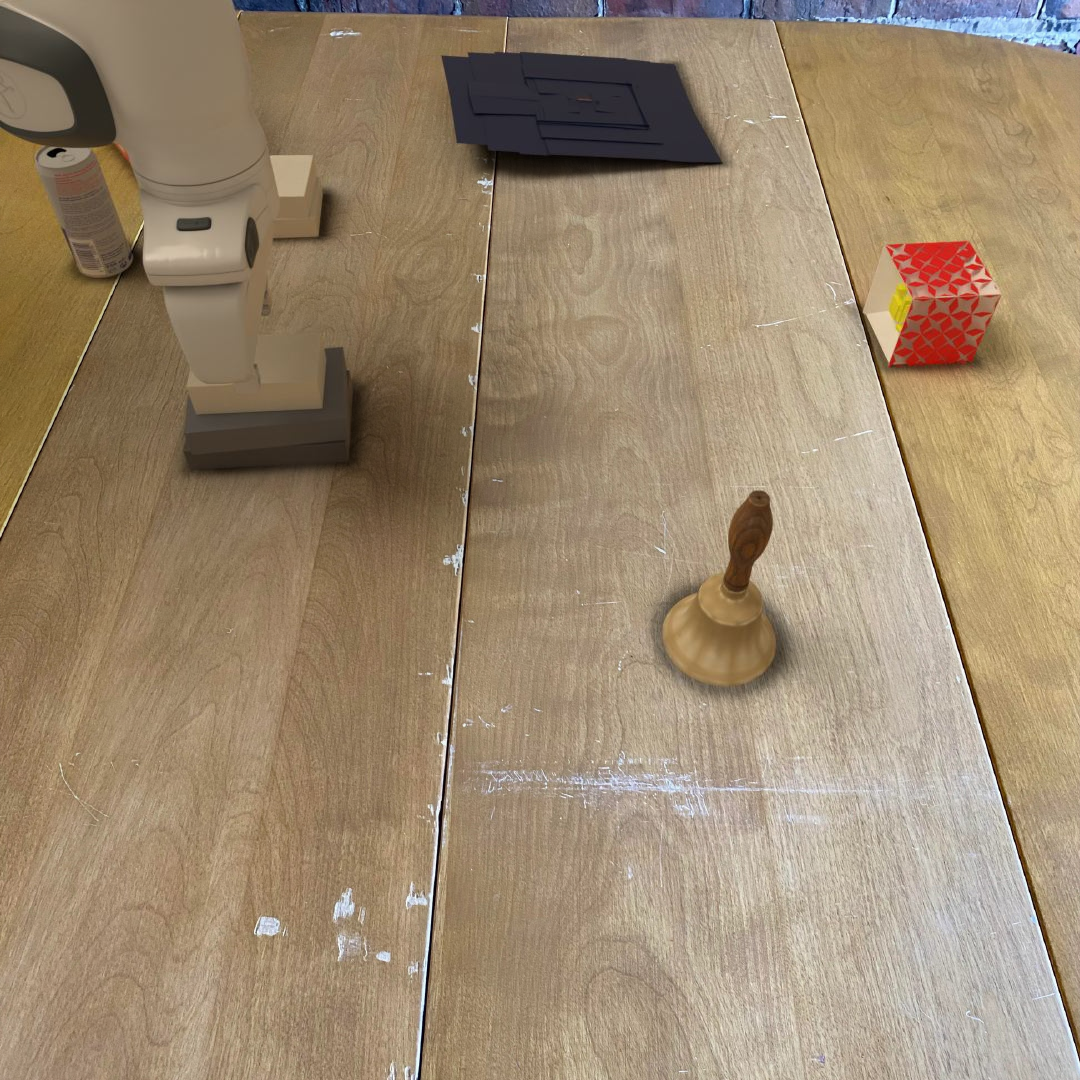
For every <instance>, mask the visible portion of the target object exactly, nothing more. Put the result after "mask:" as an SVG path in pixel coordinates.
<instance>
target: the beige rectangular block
mask: <svg viewBox="0 0 1080 1080" xmlns="http://www.w3.org/2000/svg"><path fill="white" fill-rule="evenodd" d="M324 348H325V345H324V341H323V335H322V332H321V331H309V332H285V333H265V334H264V333H261V334H260V333H258V340H257V346H256V353H255V359H254V364H257V366H258V370H259V374H260V377H261V381H260V388H259V392H258V393H257V394H255V395H239V394H237V393H236V392H235V389H234V386H233V383H229V384H206V383H204V382H202V381H200V380H199V379H197V378H196V376H195V375H194V374H193V372H192V370H191V368H190V367H189V373H188V378H187V383H186V390H187V392H188V393H189V395H190V398H191V401H192V404H193V407H194V409H195V412H196V414H197V415H200V414H221V413H242V412H263V411H284V410H305V409H322V407H323V395H324V384H325V372H326V360H327V359H326V355H325V350H324ZM188 393H187V394H188Z"/></svg>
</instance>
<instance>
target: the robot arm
mask: <svg viewBox="0 0 1080 1080" xmlns="http://www.w3.org/2000/svg"><path fill="white" fill-rule="evenodd" d="M235 9H236V8H235V5H234V3H233V0H0V128H1V129H2V130H4V131H5V132H7V133H8V134H10V135H12V136H13V137H16V138H19V139H21V140H23V141H26V142H28V143H30V144H31V143H32V144H35V145H40V146H42V147H44V146H49V147H62V148H91V149H94V148H101V147H107V146H109V145H111V144H114V143H115V144H119V145H121V146H122V147H123V148H124V149H125V150H126V151H127V153H128V156H129V160H130V163H131V164H130V163H129V164H130V166H131V170H132V172H133V174H134V178H135V179H136V184H137V186H138V189H139V190H138V199H139V202H140V206H141V211H142V219H143V224H142V225H143V226H142V234H143V235H142V237H143V238H142V264H143V269H144V272H145V274H146V277H147V279H148V281H149V284H151V286H155V287H162V290H163V299H164V304H165V307H166V311H167V315H168V317H169V320H170V323H171V326H172V328H173V331H174V333H175V337H176V338H177V341H178V343H179V346H180V348H181V350H182V353H183V355H184V357H185V359H186V362H187V364H188V366H189V369H190V368H191V370H192V372H193V374H194V375H195V376H196V378H197V379H199V380H200V381H202V382H204V383H206V384H229V383H233V386H234V389H235V392H236V393H237V394H239V395H255V394H257V393H258V392H259V388H260V381H261V377H260V374H259V370H258V366H257V364H254V359H255V353H256V346H257V340H258V335H259V334H260V327H261V319H262V316H263V317H265V316H269V315H270V314H271V311H272V303H273V299H272V294H271V291H270V287H269V286H270V285H269V284H270V282H269V267H270V261H271V256H272V255H271V254H272V247H273V242H274V238H273V235H274V229H275V222H274V220H275V218H276V216H277V214H278V212H279V209H280V198H279V194H278V189H277V185H276V180H275V176H274V172H273V168H272V163H271V159H270V151H269V146H268V142H267V138H266V133H265V131H264V129H263V127H262V125H261V123H260V120H259V119H258V117H257V116H256V113H255V111H254V107H253V103H252V87H253V77H252V71H251V67H250V62H249V59H248V53H247V50H246V49H247V48H246V46H245V41H244V37H243V33H242V31H241V26H240V22H239V19H238V15H237V12H236V10H235ZM115 144H114V145H115Z"/></svg>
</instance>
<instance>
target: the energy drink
mask: <svg viewBox="0 0 1080 1080" xmlns="http://www.w3.org/2000/svg"><path fill="white" fill-rule="evenodd" d="M34 160H35V170H36V172H37V174H38V177H39V179H40V181H41V184H42V186H43V189H44V191H45V193H46V196H47V198H48V200H49V202H50V206H51V207H52V210H53V212H54V215H55V217H56V219H57V221H58V224H59V226H60V228H61V231H62V233H63V236H64V239H65V241H66V243H67V246H68V248H69V250H70V252H71V255H72V257H73V260H74V262H75V264H76V267H77V269H78V271H79V272H80V273H81V274H82V275H83V276H86V277H89V278H94V279H104V278H110V277H113V276H116V275H120V274H121V273H123V272H125V270H127V269H128V268H130V266H131V265H132V263H133V260H134V255H133V252H132V250H131V247H130V244H129V241H128V239H127V237H126V233H125V230H124V227H123V225H122V222H121V220H120V217H119V214H118V211H117V209H116V206H115V202H114V201H113V198H112V194H111V193H110V189H109V187H108V184H107V181H106V179H105V178H106V177H105V176H104V173H103V170H102V167H101V165H100V162H99V160H98V157H97V154H96V153H95V152H94V150H93V148H62V147H49V146H42V147H40V148H39V149H38V150H37V151H36V153H35V155H34Z"/></svg>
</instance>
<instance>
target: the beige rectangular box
mask: <svg viewBox="0 0 1080 1080" xmlns="http://www.w3.org/2000/svg"><path fill="white" fill-rule="evenodd" d="M269 155H270V154H269ZM270 159H271V163H272V168H273V172H274V176H275V180H276V185H277V189H278V194H279V198H280V209H279V212H278V214H277V216H276V218H275V220H274V222H275V229H274V235H273V239H288V238H315V237H316V238H317V237H319V233H320V223H321V216H322V206H323V204H322V203H323V195H324V193H323V187H322V181H321V176H320V175H318V172H317V168H316V167H317V166H316V161H315V157H314V155H313V154H275V155H270Z"/></svg>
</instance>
